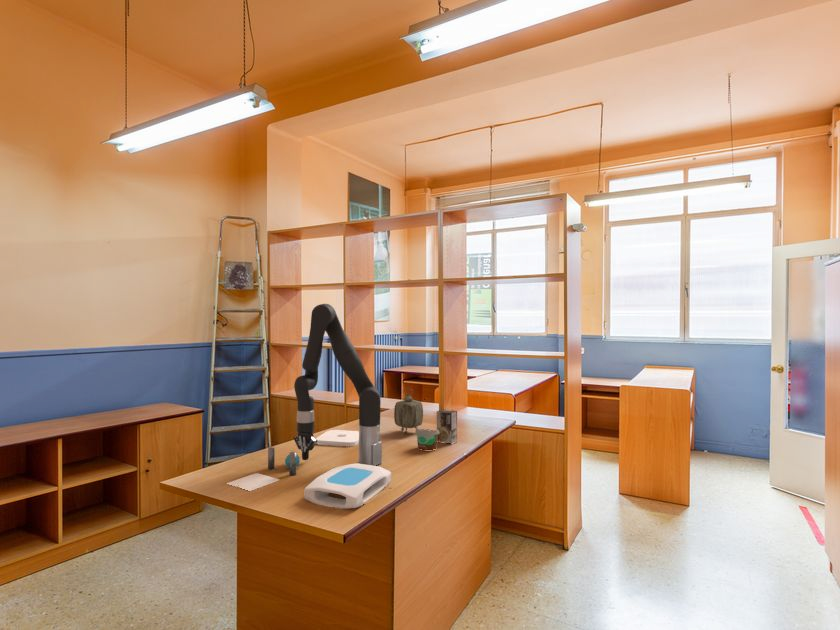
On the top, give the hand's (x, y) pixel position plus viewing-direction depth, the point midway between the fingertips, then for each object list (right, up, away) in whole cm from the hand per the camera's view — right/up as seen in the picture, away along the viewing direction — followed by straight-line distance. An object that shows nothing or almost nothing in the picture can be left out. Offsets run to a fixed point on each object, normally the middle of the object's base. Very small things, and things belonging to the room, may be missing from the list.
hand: (305, 459), depth 198 cm
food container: (+53, -2, +21) cm, 57 cm away
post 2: (-1, -1, -15) cm, 15 cm away
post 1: (-12, -1, -8) cm, 15 cm away
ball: (-4, +1, -6) cm, 8 cm away
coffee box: (+65, -2, +35) cm, 73 cm away
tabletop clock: (+44, -2, +53) cm, 68 cm away
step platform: (+25, -2, -32) cm, 41 cm away
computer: (+9, -2, +38) cm, 39 cm away
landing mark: (-14, -1, -23) cm, 27 cm away
